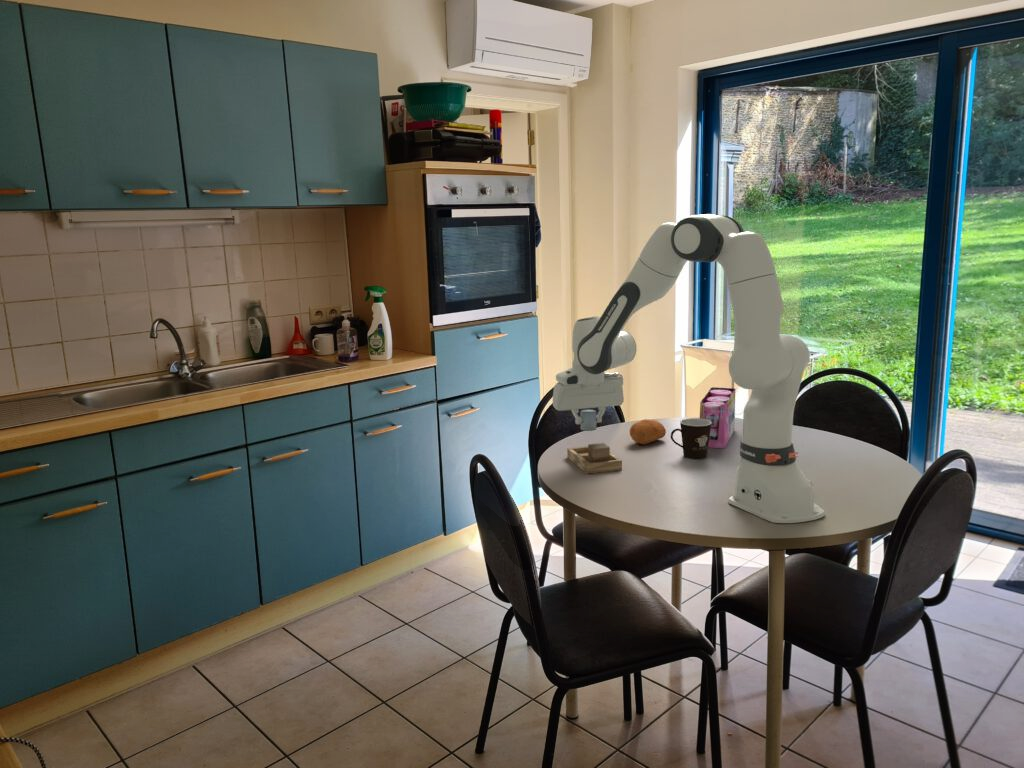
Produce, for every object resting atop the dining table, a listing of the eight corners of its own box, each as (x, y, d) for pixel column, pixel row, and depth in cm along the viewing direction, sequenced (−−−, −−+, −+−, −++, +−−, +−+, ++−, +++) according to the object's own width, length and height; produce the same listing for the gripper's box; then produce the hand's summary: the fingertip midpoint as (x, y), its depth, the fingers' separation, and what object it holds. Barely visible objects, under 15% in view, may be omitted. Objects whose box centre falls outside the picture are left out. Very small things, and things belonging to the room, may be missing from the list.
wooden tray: (621, 470, 209) (622, 460, 209) (587, 474, 207) (587, 464, 206) (599, 453, 224) (599, 444, 224) (567, 457, 222) (567, 448, 221)
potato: (623, 443, 234) (624, 420, 233) (655, 436, 241) (655, 414, 240) (639, 448, 228) (640, 425, 227) (671, 441, 235) (671, 418, 234)
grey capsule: (598, 430, 216) (598, 412, 215) (583, 431, 215) (583, 414, 214) (592, 426, 220) (592, 409, 219) (578, 427, 219) (578, 410, 218)
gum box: (724, 450, 225) (725, 405, 222) (696, 448, 228) (697, 403, 225) (734, 429, 246) (736, 388, 243) (709, 427, 249) (710, 386, 246)
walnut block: (609, 464, 210) (609, 447, 209) (594, 466, 209) (594, 448, 208) (603, 460, 214) (603, 442, 213) (588, 461, 213) (588, 444, 212)
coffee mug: (708, 451, 224) (709, 418, 221) (712, 460, 215) (713, 426, 213) (667, 451, 225) (668, 418, 223) (670, 460, 216) (671, 426, 214)
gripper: (618, 370, 220) (618, 417, 223) (550, 375, 215) (550, 423, 217) (627, 374, 214) (627, 422, 217) (557, 379, 209) (558, 429, 211)
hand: (588, 422), depth 217 cm, fingers closed on grey capsule, 4 cm apart
